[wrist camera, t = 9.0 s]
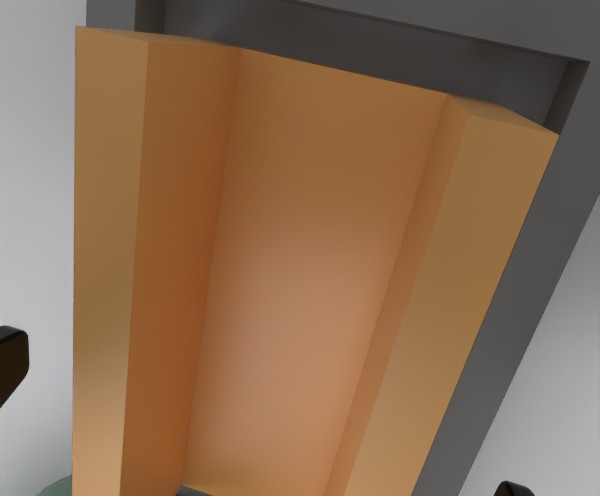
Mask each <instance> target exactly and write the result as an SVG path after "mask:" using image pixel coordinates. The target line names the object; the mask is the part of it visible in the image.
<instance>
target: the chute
mask: <svg viewBox="0 0 600 496" xmlns="http://www.w3.org/2000/svg"><path fill="white" fill-rule="evenodd" d="M558 138H559V135H558V134H556V133H554V132H552V131H550V130H548V129H546V128H544V127H542V126H541V125H539V124H537V123H535V122H533V121H531V120H529V119H527V118H525V117H523V116H521V115H519V114H517V113H515V112H513V111H511V110H509V109H507V108H505V107H503V106H501V105H499V104H497V103H495V102H491V101H487V100H482V99H478V98H473V97H469V96H464V95H460V94H455V93H451V92H446V91H442V90H437V89H433V88H428V87H424V86H419V85H415V84H410V83H406V82H401V81H397V80H392V79H388V78H383V77H379V76H374V75H369V74H365V73H360V72H356V71H351V70H347V69H342V68H338V67H333V66H329V65H324V64H320V63H315V62H311V61H306V60H302V59H297V58H293V57H288V56H284V55H279V54H275V53H270V52H266V51H261V50H257V49H252V48H248V47H243V46H239V45H234V44H230V43H225V42H221V41H216V40H212V39H207V38H197V37H186V36H176V35H166V34H156V33H145V32H135V31H125V30H115V29H105V28H94V27H84V26H76V35H75V173H74V310H73V448H72V496H176V494H177V492H178V490H179V488H180V486H181V485H183V486H186V487H189V488H192V489H195V490H198V491H201V492H204V493H207V494H210V495H213V496H411V494H412V492H413V489H414V487H415V484H416V482H417V479H418V477H419V475H420V472H421V470H422V467H423V465H424V463H425V460H426V458H427V455H428V453H429V450H430V448H431V446H432V443H433V441H434V438H435V436H436V433H437V431H438V429H439V426H440V424H441V421H442V419H443V416H444V414H445V412H446V409H447V407H448V404H449V402H450V399H451V397H452V395H453V392H454V390H455V387H456V385H457V383H458V380H459V378H460V375H461V373H462V370H463V368H464V366H465V363H466V361H467V358H468V356H469V353H470V351H471V349H472V346H473V344H474V341H475V339H476V336H477V334H478V332H479V329H480V327H481V324H482V322H483V320H484V317H485V315H486V312H487V310H488V307H489V305H490V303H491V300H492V298H493V295H494V293H495V290H496V288H497V286H498V283H499V281H500V278H501V276H502V273H503V271H504V269H505V266H506V264H507V261H508V259H509V257H510V254H511V252H512V249H513V247H514V244H515V242H516V240H517V237H518V235H519V232H520V230H521V227H522V225H523V223H524V220H525V218H526V215H527V213H528V210H529V208H530V206H531V203H532V201H533V198H534V196H535V194H536V191H537V189H538V186H539V184H540V181H541V179H542V177H543V174H544V172H545V169H546V167H547V164H548V162H549V160H550V157H551V155H552V152H553V150H554V147H555V145H556V143H557V140H558Z"/></svg>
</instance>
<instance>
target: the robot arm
mask: <svg viewBox="0 0 600 496" xmlns="http://www.w3.org/2000/svg"><path fill="white" fill-rule="evenodd" d="M28 369H29V342H28V335H27V333H26V332H25V331H23V330H20V329H17V328H14V327H11V326H0V408H1V407H2V406H3V404H4V403H5V402H6V401H7V399H8V398H9V397H10V396H11V394H12V393H13V392H14V391H15V389H16V388H17V387H18V386H19V384H20V383H21V382H22V381H23V379H24V378H25V376H26V374H27V372H28ZM494 496H535V495H534V494H533V492H532V491H531V490H530V489H529V488H527V487H525V486H522V485H519V484H516V483H512V482H509V481H503V482H502V483H501V484H500V485H499V486H498V488H497V490H496V492H495V494H494Z"/></svg>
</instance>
